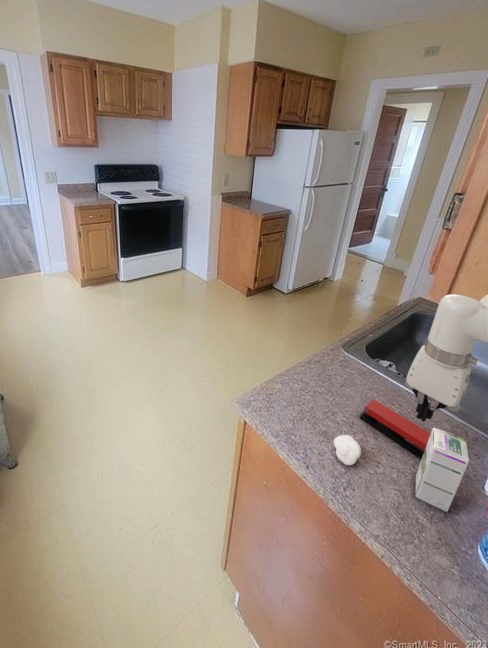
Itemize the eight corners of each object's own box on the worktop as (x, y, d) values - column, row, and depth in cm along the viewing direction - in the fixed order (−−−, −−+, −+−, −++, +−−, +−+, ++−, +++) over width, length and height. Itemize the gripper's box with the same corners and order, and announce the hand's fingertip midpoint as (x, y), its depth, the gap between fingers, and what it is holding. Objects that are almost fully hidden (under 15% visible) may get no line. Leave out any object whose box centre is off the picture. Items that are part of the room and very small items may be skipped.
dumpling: (364, 466, 73) (366, 457, 71) (342, 471, 73) (344, 462, 71) (348, 436, 79) (350, 427, 77) (328, 441, 79) (329, 432, 76)
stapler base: (434, 451, 77) (437, 445, 76) (426, 463, 74) (429, 456, 73) (368, 409, 88) (370, 403, 88) (359, 418, 86) (361, 412, 85)
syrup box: (448, 513, 64) (472, 461, 58) (413, 497, 67) (433, 446, 61) (446, 489, 68) (468, 439, 63) (413, 474, 71) (432, 425, 66)
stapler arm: (435, 443, 76) (437, 437, 75) (427, 453, 73) (430, 447, 73) (371, 404, 87) (373, 398, 86) (363, 411, 84) (365, 406, 84)
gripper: (495, 363, 65) (466, 430, 72) (415, 330, 76) (396, 391, 82) (485, 378, 61) (455, 448, 67) (401, 341, 71) (382, 404, 78)
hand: (422, 417), depth 75 cm, fingers closed
